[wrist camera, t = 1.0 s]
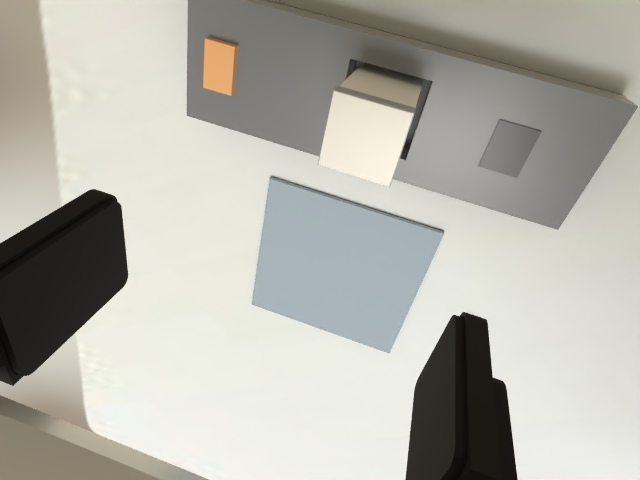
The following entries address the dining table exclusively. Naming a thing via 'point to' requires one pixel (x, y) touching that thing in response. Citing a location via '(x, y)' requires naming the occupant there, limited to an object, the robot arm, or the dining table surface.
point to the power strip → (437, 114)
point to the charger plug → (370, 123)
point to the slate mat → (340, 264)
